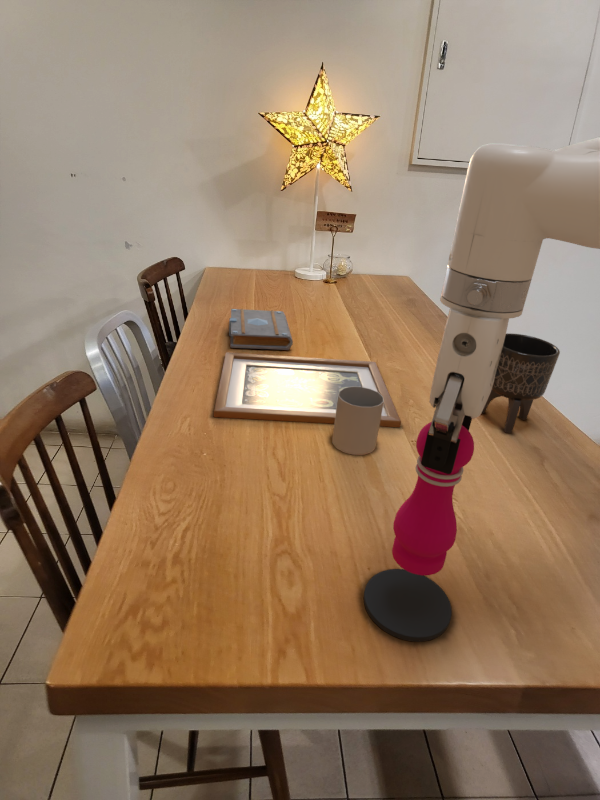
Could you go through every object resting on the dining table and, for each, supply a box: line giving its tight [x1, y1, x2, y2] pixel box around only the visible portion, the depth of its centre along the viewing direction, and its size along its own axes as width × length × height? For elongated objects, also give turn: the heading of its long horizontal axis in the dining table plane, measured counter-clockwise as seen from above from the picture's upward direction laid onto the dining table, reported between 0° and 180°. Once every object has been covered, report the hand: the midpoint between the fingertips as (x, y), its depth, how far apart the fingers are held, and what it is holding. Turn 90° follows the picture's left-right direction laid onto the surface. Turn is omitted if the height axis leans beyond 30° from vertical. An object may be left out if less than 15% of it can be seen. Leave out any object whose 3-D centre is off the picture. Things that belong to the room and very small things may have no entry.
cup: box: [331, 387, 384, 456], centre depth 101 cm, size 8×8×10 cm
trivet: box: [363, 568, 453, 643], centre depth 68 cm, size 11×11×1 cm
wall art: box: [213, 351, 402, 428], centre depth 122 cm, size 31×2×38 cm
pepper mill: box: [391, 415, 475, 576], centre depth 61 cm, size 7×7×20 cm
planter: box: [481, 332, 561, 434], centre depth 113 cm, size 13×13×18 cm
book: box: [228, 308, 294, 351], centre depth 149 cm, size 21×16×5 cm
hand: (444, 452), depth 58 cm, fingers closed on pepper mill, 6 cm apart
